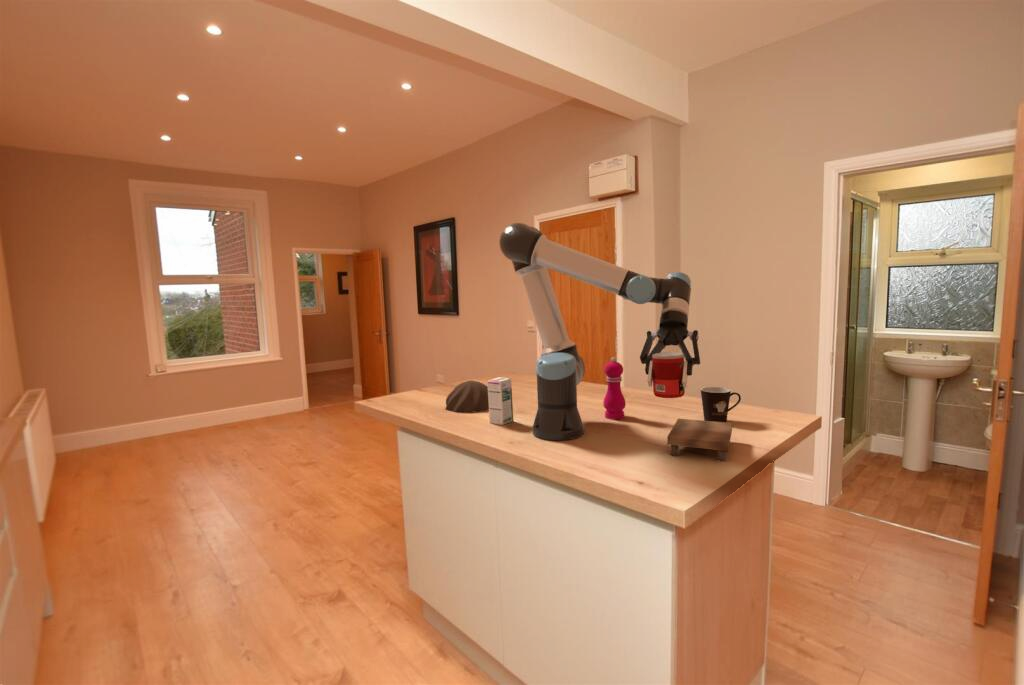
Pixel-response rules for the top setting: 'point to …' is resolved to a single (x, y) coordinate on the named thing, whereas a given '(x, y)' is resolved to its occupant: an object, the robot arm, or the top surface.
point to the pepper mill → (614, 391)
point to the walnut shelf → (700, 436)
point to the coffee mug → (716, 403)
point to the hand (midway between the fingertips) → (666, 384)
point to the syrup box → (500, 400)
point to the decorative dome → (468, 397)
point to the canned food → (668, 375)
